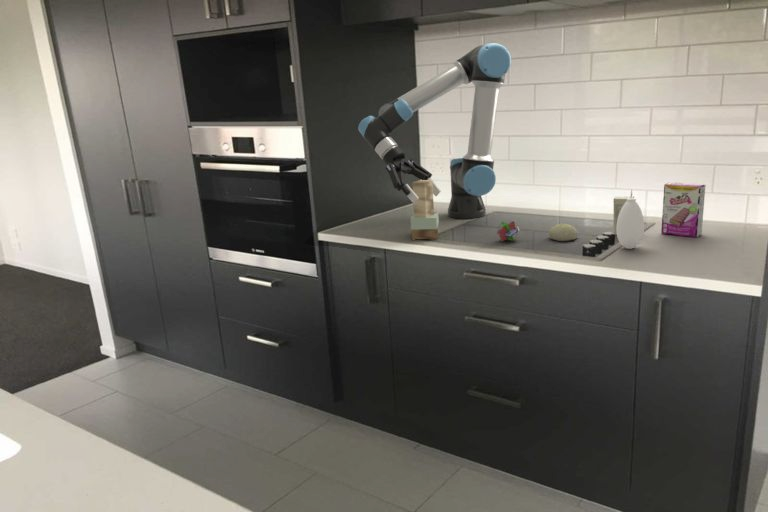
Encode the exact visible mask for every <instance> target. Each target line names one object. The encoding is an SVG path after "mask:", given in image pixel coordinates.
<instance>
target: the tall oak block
mask: <svg viewBox="0 0 768 512" xmlns="http://www.w3.org/2000/svg"><path fill="white" fill-rule="evenodd" d="M433 182H434V180H432V179H431V180H421V179H419V180H416V181H415V180H414V181H413V182H412V190H413V191H414V193H415V194H416V195H417V196H418V197H419V199H418V200H417V201H416V202H415V203H414V204H413V213H414V216H418V217H428V216H431V215H434V212H435V211H434V209H435V208H434V194H433Z"/></svg>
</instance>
